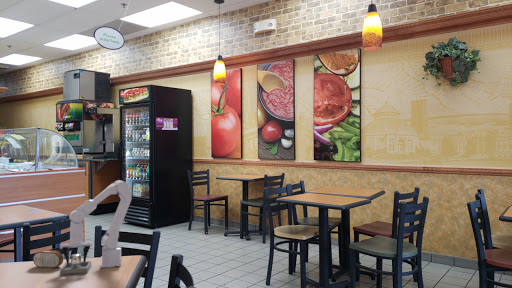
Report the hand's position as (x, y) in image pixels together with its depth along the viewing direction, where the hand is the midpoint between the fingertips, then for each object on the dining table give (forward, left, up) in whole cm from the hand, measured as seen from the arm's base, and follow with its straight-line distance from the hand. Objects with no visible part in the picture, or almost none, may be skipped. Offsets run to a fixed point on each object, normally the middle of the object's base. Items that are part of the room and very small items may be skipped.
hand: (76, 262), depth 191 cm
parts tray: (0, 0, -4) cm, 4 cm away
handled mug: (0, 0, -4) cm, 4 cm away
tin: (+15, -9, -4) cm, 18 cm away
